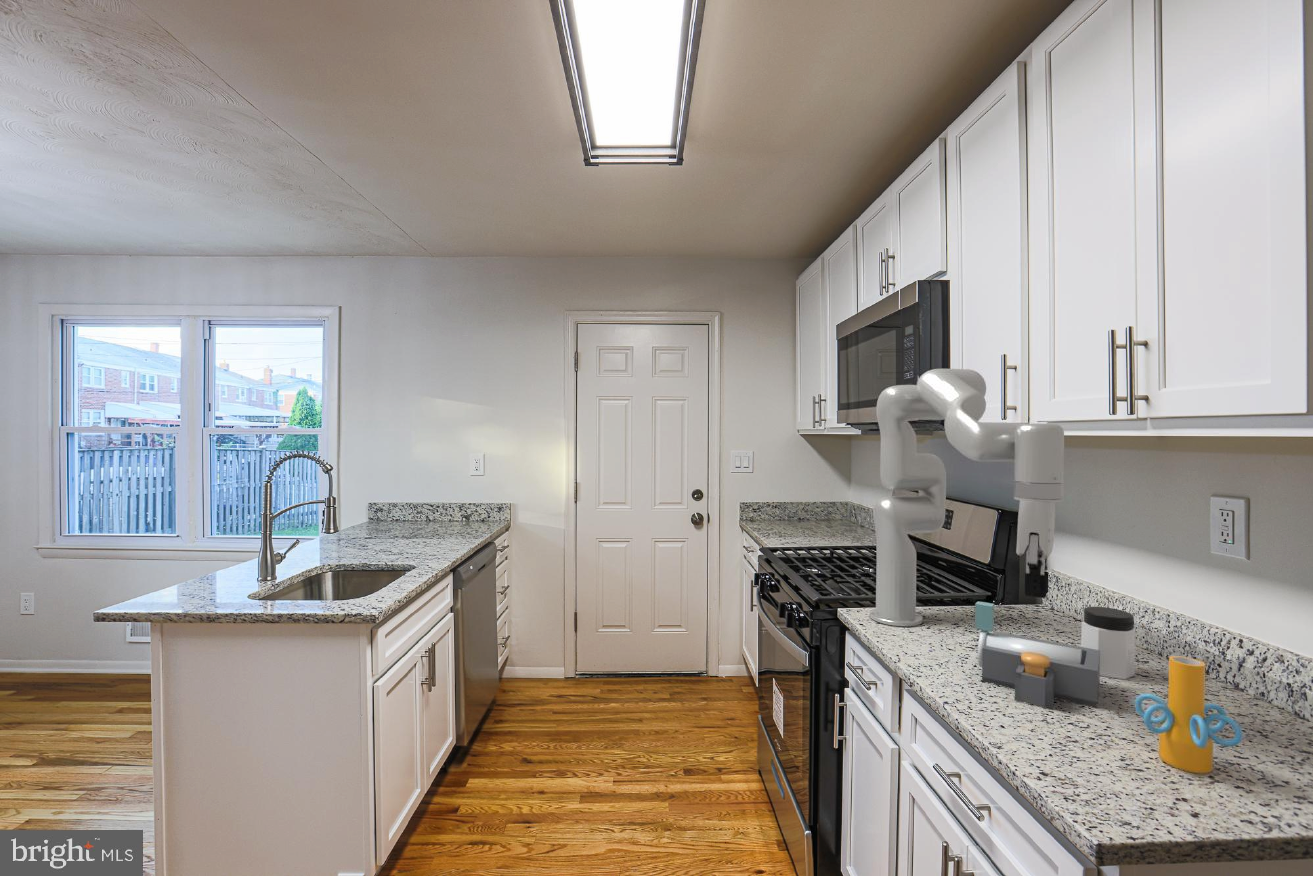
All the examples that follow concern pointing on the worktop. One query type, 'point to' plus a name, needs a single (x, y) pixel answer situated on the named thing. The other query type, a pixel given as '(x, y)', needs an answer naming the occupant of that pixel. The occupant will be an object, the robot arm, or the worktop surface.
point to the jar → (1110, 640)
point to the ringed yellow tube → (1187, 718)
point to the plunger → (1035, 663)
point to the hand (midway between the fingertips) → (1036, 593)
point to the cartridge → (1016, 639)
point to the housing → (1059, 678)
